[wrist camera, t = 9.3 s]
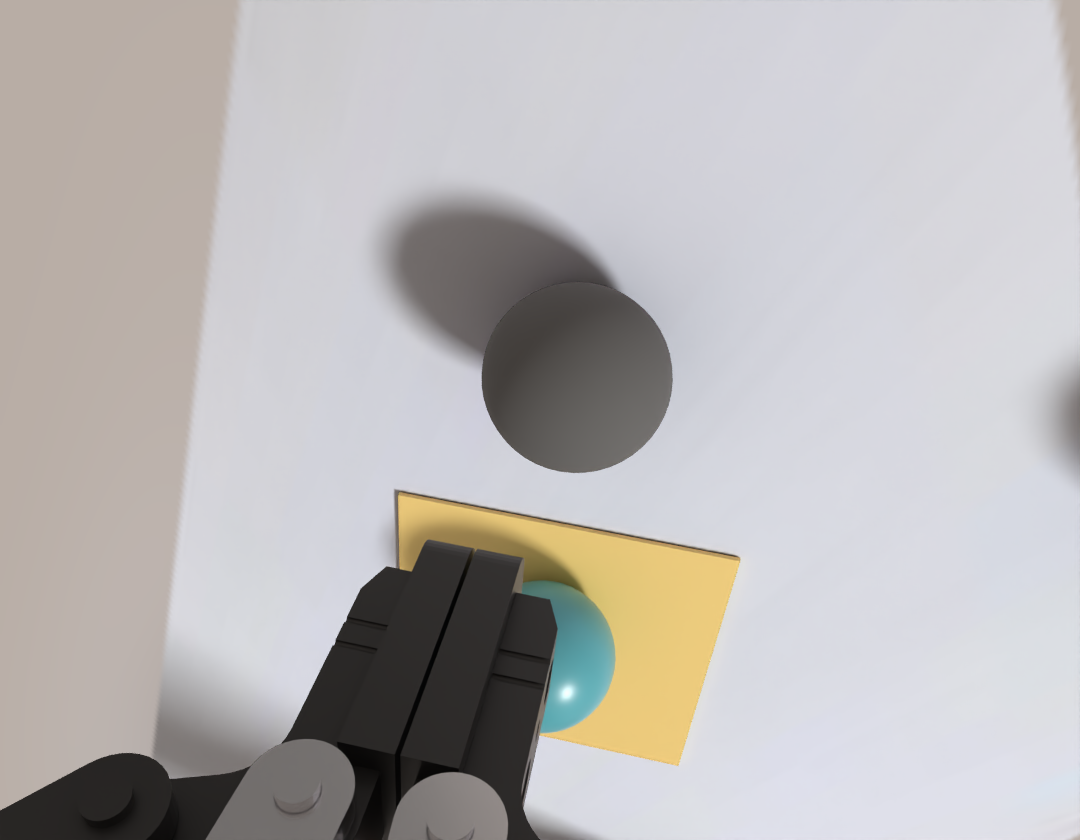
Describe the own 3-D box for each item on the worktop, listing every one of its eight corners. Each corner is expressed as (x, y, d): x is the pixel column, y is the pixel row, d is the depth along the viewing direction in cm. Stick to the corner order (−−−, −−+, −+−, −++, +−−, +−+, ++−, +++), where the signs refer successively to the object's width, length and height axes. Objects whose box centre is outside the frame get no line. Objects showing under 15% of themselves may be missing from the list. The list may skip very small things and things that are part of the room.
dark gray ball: (679, 257, 25) (670, 310, 31) (471, 255, 25) (501, 307, 31) (674, 469, 24) (666, 481, 30) (459, 461, 25) (493, 475, 30)
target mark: (678, 762, 43) (678, 765, 42) (403, 701, 44) (402, 704, 44) (740, 557, 34) (740, 561, 34) (399, 491, 36) (398, 495, 36)
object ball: (616, 595, 32) (617, 573, 38) (457, 589, 33) (482, 568, 39) (613, 760, 32) (614, 712, 38) (452, 750, 33) (478, 704, 39)
